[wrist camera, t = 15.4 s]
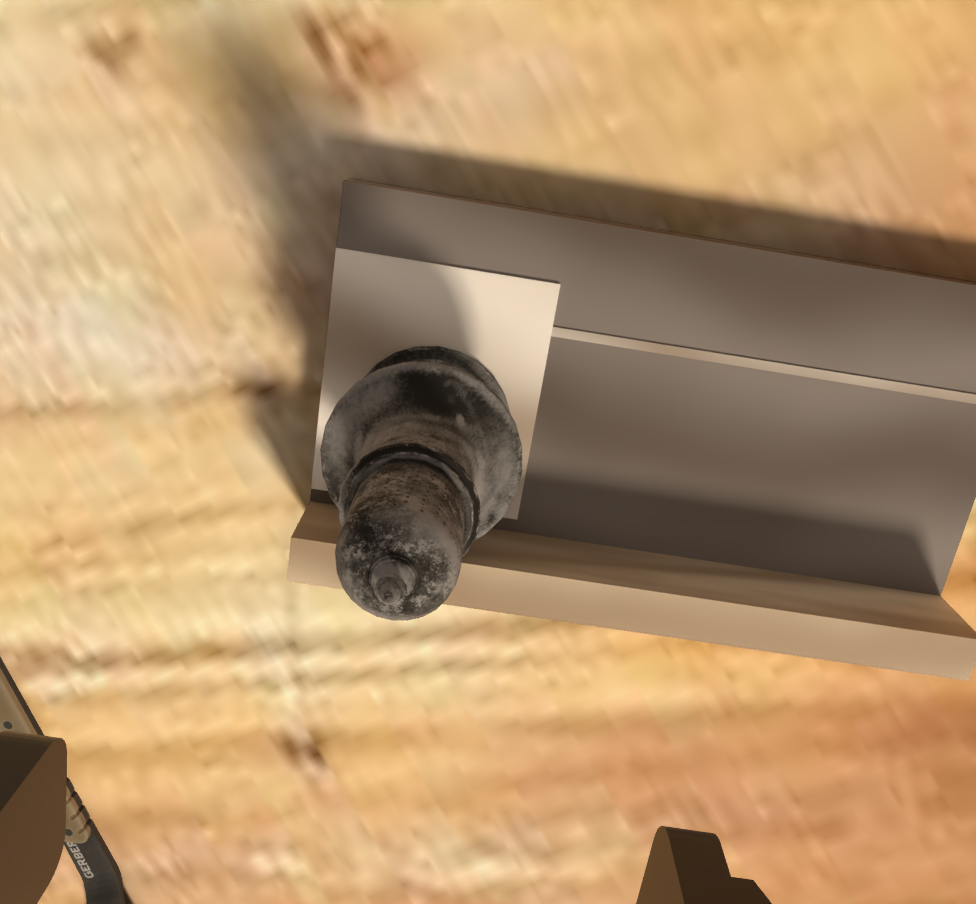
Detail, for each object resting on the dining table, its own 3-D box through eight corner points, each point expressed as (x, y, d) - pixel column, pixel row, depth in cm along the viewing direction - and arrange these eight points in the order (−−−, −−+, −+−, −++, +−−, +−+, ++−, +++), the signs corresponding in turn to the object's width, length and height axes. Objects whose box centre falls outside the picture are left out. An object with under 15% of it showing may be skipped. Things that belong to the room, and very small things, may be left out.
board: (350, 178, 29) (326, 185, 25) (1020, 289, 30) (1107, 314, 26) (314, 524, 33) (286, 581, 29) (908, 612, 34) (968, 681, 29)
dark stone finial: (387, 533, 31) (323, 759, 20) (309, 379, 29) (190, 529, 18) (547, 469, 30) (577, 666, 19) (476, 307, 29) (462, 416, 17)
